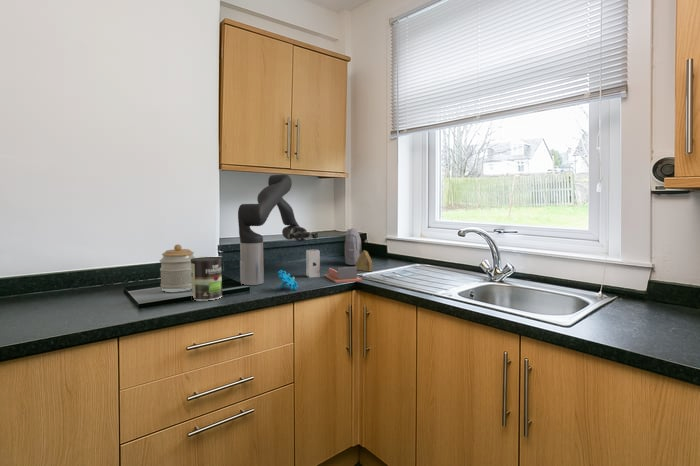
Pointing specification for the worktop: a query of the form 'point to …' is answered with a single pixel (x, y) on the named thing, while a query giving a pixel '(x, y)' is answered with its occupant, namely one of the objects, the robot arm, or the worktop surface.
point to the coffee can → (206, 278)
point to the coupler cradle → (343, 275)
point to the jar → (176, 268)
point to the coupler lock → (313, 263)
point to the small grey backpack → (352, 246)
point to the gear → (287, 280)
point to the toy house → (364, 262)
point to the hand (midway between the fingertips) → (306, 236)
